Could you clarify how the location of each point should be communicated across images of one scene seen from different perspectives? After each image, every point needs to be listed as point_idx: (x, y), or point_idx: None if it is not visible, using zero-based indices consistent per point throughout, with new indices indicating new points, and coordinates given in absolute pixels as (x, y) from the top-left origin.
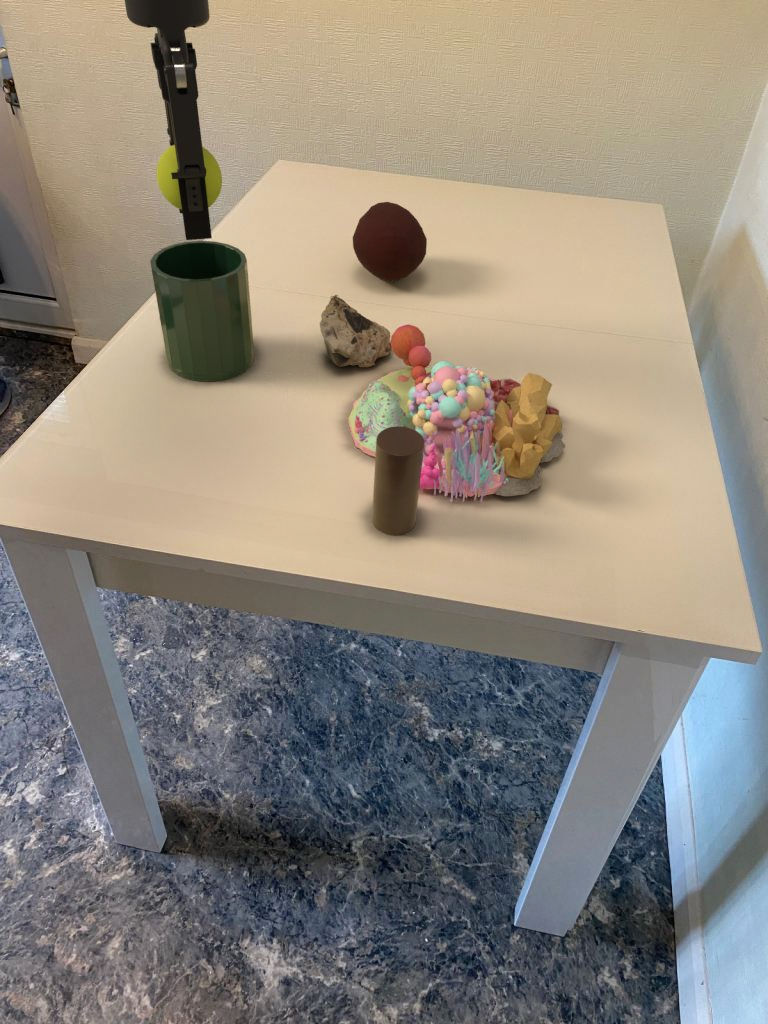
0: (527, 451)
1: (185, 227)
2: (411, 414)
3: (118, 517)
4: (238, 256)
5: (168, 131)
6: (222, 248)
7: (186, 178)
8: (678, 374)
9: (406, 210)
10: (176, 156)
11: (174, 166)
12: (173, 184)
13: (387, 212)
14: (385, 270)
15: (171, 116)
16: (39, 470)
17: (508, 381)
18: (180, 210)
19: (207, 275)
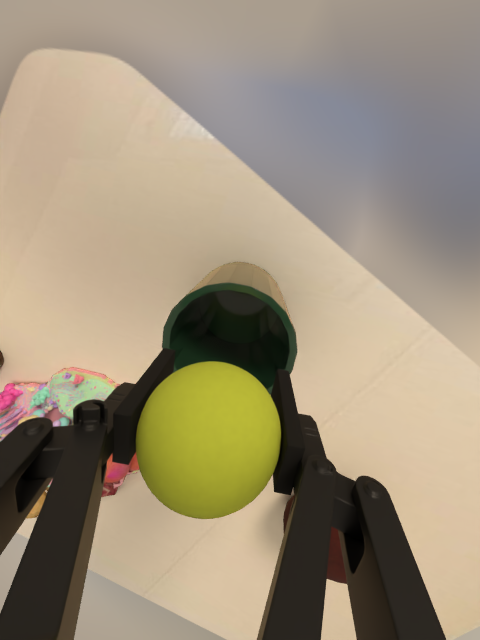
0: None
1: (157, 358)
2: (60, 419)
3: (15, 157)
4: None
5: (364, 489)
6: (265, 387)
7: (68, 427)
8: (108, 573)
9: (337, 581)
10: (88, 453)
11: (151, 426)
12: (154, 393)
13: (334, 567)
14: (289, 503)
15: (15, 579)
16: (95, 89)
17: (104, 493)
18: (277, 372)
19: (279, 349)
